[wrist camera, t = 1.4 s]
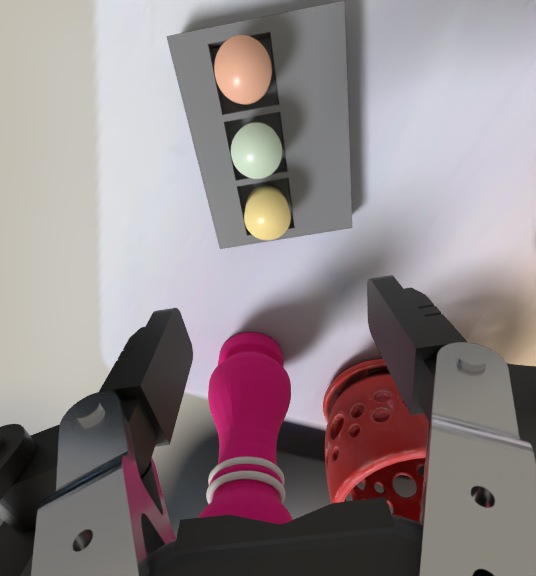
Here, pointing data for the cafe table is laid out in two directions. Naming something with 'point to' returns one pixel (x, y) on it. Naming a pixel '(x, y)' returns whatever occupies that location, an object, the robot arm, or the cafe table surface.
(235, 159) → the sage button
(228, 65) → the terracotta button
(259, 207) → the ochre button
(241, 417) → the pepper mill
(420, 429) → the plant pot
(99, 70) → the cafe table surface
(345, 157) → the panel
